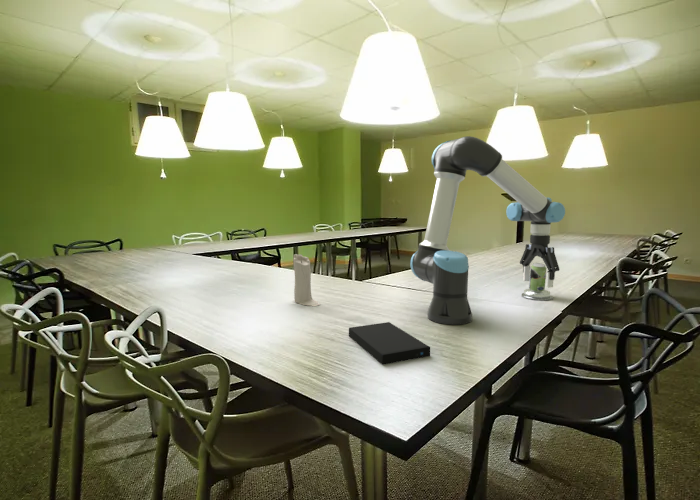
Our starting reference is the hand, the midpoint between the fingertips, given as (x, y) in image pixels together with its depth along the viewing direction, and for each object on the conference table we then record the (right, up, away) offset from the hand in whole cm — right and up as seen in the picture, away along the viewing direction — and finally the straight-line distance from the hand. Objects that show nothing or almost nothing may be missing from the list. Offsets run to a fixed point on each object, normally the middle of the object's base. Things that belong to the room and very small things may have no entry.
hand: (537, 284), depth 163 cm
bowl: (0, -6, +1) cm, 6 cm away
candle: (-98, -7, -5) cm, 98 cm away
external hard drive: (-70, -14, -53) cm, 88 cm away
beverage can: (0, -3, 0) cm, 3 cm away
